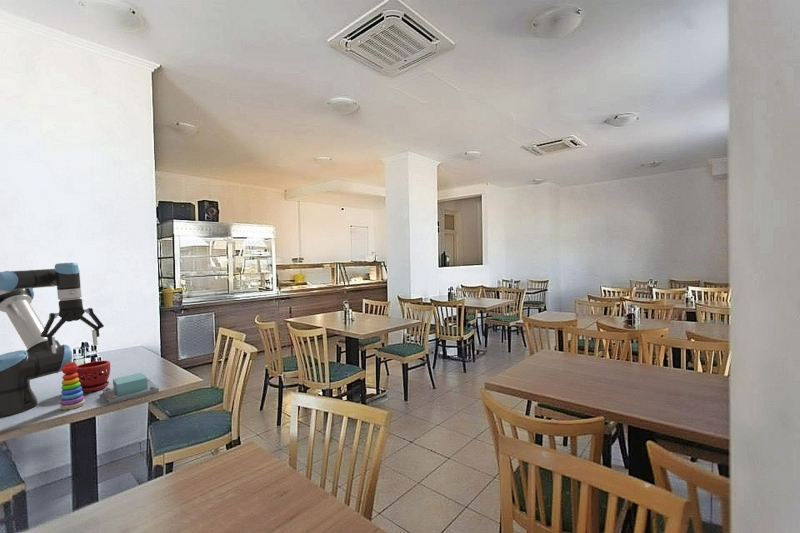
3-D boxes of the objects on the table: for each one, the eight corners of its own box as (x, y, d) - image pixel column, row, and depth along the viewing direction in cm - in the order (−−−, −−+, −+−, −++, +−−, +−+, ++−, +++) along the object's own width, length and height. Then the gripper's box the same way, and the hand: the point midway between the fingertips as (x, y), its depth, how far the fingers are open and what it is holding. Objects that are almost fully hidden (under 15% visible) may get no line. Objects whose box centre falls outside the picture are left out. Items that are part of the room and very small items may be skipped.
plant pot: (114, 387, 178) (113, 362, 177) (79, 396, 168) (77, 370, 167) (107, 381, 186) (106, 357, 186) (73, 389, 176) (71, 364, 176)
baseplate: (109, 403, 158) (108, 388, 158) (103, 393, 171) (102, 379, 170) (158, 391, 171) (157, 377, 170) (149, 382, 183) (148, 369, 183)
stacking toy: (90, 402, 160) (87, 359, 159) (72, 410, 152) (68, 365, 151) (73, 402, 161) (70, 359, 160) (54, 410, 153) (51, 365, 152)
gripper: (31, 303, 145) (37, 357, 146) (109, 295, 166) (114, 342, 166) (27, 303, 150) (33, 355, 151) (103, 295, 170) (108, 341, 171)
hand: (75, 348), depth 158 cm, fingers open, 13 cm apart
